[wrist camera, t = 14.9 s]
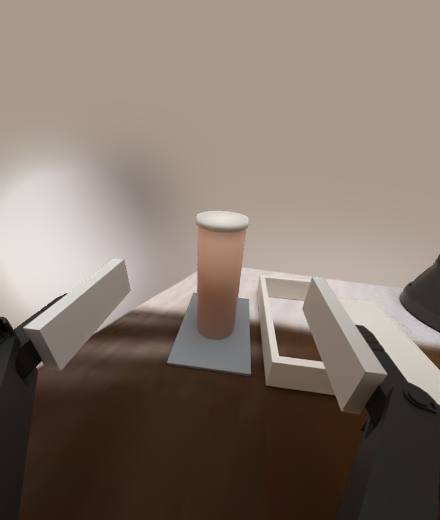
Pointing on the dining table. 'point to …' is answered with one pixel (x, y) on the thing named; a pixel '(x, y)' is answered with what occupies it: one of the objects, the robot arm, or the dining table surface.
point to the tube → (219, 271)
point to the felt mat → (213, 344)
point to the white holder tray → (313, 372)
